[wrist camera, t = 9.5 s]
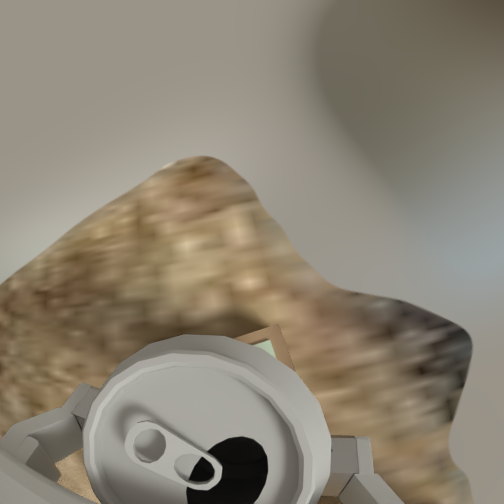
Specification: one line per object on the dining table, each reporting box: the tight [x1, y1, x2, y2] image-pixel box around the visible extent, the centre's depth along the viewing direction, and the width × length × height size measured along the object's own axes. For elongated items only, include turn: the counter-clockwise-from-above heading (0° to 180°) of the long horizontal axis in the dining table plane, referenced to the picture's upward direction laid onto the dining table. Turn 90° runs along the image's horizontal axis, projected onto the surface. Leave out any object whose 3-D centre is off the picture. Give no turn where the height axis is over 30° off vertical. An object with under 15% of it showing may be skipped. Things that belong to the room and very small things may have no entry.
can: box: [82, 334, 331, 504], centre depth 12 cm, size 8×8×12 cm
